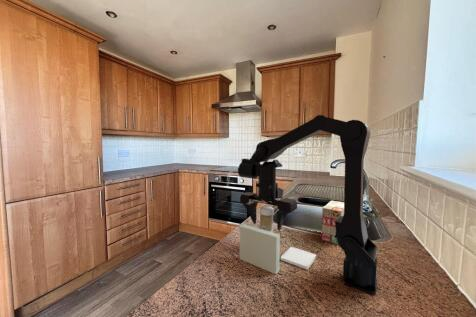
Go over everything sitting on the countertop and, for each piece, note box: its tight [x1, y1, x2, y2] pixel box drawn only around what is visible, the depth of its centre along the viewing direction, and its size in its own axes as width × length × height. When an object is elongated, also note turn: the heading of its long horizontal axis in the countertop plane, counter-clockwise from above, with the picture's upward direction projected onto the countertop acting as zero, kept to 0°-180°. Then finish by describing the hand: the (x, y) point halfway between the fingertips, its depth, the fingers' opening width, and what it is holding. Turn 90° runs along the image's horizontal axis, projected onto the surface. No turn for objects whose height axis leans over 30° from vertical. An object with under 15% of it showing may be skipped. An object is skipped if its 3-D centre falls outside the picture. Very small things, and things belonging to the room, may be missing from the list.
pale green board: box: [239, 223, 281, 275], centre depth 56 cm, size 12×2×10 cm, turn 53°
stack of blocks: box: [321, 200, 344, 245], centre depth 77 cm, size 21×6×12 cm, turn 141°
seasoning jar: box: [259, 205, 275, 233], centre depth 65 cm, size 5×5×13 cm
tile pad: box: [280, 246, 317, 271], centre depth 59 cm, size 8×8×1 cm
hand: (266, 226), depth 65 cm, fingers open, 9 cm apart
